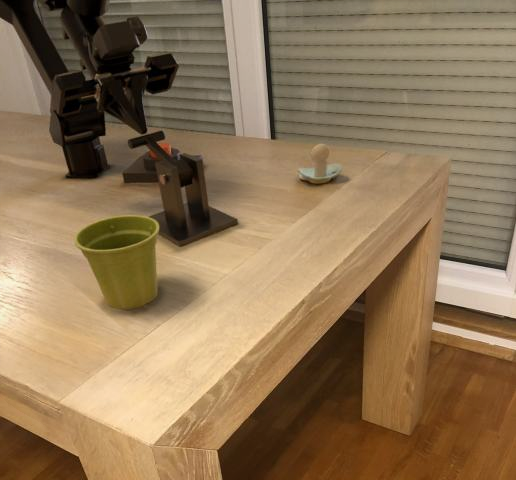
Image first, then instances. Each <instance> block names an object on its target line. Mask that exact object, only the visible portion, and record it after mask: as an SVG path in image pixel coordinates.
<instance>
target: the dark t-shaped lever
mask: <svg viewBox="0 0 516 480" xmlns="http://www.w3.org/2000/svg"><path fill="white" fill-rule="evenodd" d="M165 140H166V134H165V132H164V131H163V130H158V131H155V132H151V133H146V134H143V135H140V136H136V137H133V138H129V139H128V140H127V145H128V147H129V149H131V150H133V149H136V148H140V147H143V146H145V147H147V148H148V149H149V151H150V150H151V151H152V152H153V153H154V154H155V155H156V156H157V157H158V158H159V159H160V160H161V161H164V162H166V163H169V164H171V165H173V166H176V167H177V168H178V174H179V180H180V186H181V188H185V186H187V185H190V184H192V179H193V169H192V168H191V167H190V166H189V165H188V164H187V163H186V162H185V161H184V160H183V159H180V160H176V161H175V160H174V159H173V158H172V157H171V156H170V155H169V154H168V153H167V152H166V151H165V150H164V149H163V148H162V147H161V146H160V145H159V144H158V143H159V142H161V141H165Z"/></svg>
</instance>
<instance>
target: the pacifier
mask: <svg viewBox="0 0 516 480" xmlns="http://www.w3.org/2000/svg"><path fill="white" fill-rule="evenodd" d="M329 156H330V149H329V146H328V145H327V144H325V143H318V144H316V145H315V146H314V147H313V148H312V149H311V152H310V158H311V160H312V162H313V167H306V168H305V167H304V168H302V167H301V168H298V170H297V171H298V173H299V174H298V179H300V180H302V181H306V182H307V181H308V182H309V183H310V184H314V185H315V184H319V185H320V184H324V183H328V182H330V181H331V179H333V178H335V177H338V176H339V175H340V173H341V172H342V171H343V163H340V162H339V163H338V162H337V163H330V164H327V163H328V161H327V160H328V158H329Z"/></svg>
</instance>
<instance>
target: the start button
mask: <svg viewBox="0 0 516 480" xmlns="http://www.w3.org/2000/svg"><path fill="white" fill-rule="evenodd" d="M157 143H158V144H159V145H160V146H161V147H162V148H163V149H164V150H165V151H166V152H167V153H168V154H169V155H172V154H171V148H172V147H171V144H170V143H169V142H157ZM149 151H150V153H151V157H153V158H158V157H157V156H156V155H155V154H154V153H153V152H152V151H151V150H150V149H149Z"/></svg>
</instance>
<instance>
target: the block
mask: <svg viewBox="0 0 516 480" xmlns="http://www.w3.org/2000/svg"><path fill="white" fill-rule="evenodd" d="M170 148H171V154H172V155H170V156H171V157H172V158H173V159H174V160H175V161H176V160H180V154H181V151H180V150H179V149H177V148H173V147H170ZM191 155H192V156H195V157H197V158H200V159H202V161H203V159H204V158H203V155H201V154H198V155H197V154H196V155H195V154H191ZM157 161H160V159H159V158H153V157H151V153H150V150H149V151H146V152H144V153H143V154H142V155H140V156H139V157H137V159H136V160H135V161H134V162H132V163H131V164H130V165H129V166H128V167H127V168H126V169H125V170H124V171H123V172H121V174H122V179H123V183H124V184H159V181H158V175H157V170H156V165H155V162H157ZM203 162H204V161H203Z"/></svg>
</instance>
